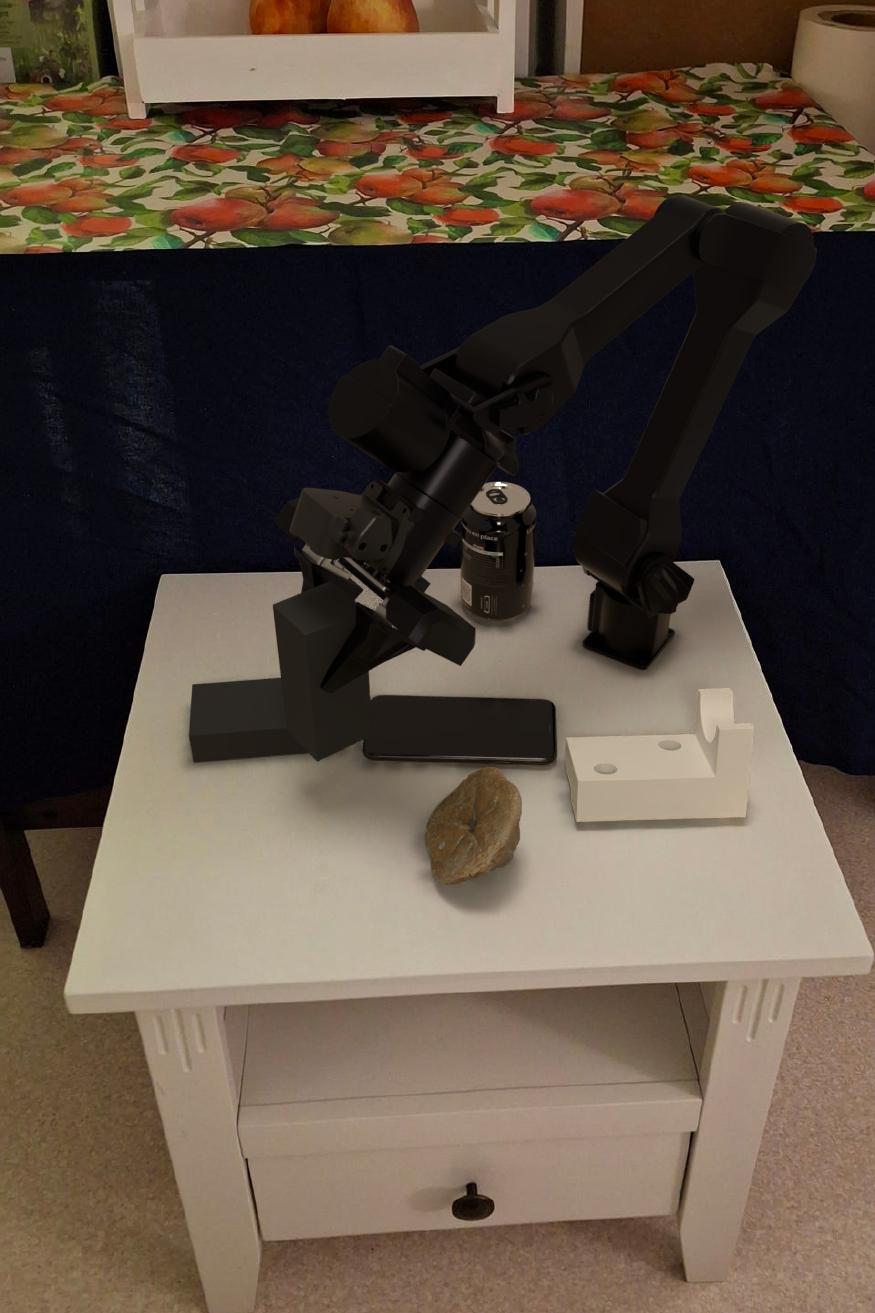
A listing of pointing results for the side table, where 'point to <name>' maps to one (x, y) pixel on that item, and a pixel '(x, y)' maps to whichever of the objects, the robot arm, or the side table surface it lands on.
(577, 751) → the bracket
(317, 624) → the black pad block
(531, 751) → the smartphone
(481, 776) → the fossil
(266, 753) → the base pad
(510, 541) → the beverage can
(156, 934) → the side table surface
